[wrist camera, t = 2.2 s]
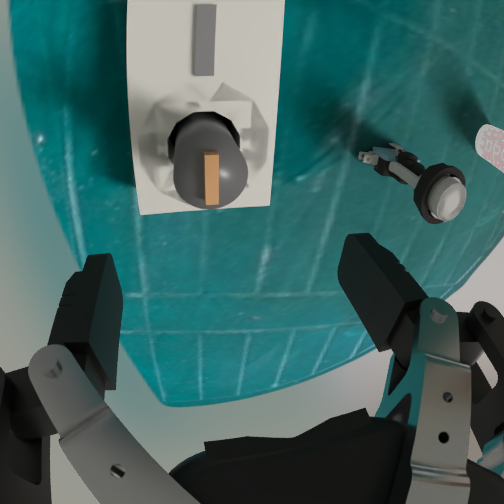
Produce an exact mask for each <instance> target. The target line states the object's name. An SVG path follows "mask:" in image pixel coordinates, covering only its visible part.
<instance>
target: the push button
mask: <svg viewBox="0 0 504 504" xmlns="http://www.w3.org/2000/svg"><path fill="white" fill-rule="evenodd" d="M389 144H390V145H391V146H393V147H395V148H396V149H389V148H381V147H373V150H372V151H369V152H359V157H358V159H361V160H363V163H371V164H372V165H374V166H375V168H374V170H375V171H376V172H378V173H379V174H380V175H382V176H391V177H393V178H395V179H396V180H397V181H399V182H400V183H401V184H409V185H411V186H412V187H413V188H414V202H415V204H416V206H417V208H418V210H419V211H420V214H421V216H422V217H423V218H424V219H425V220H426V221H427V222H428V223H431V224H439V223H442V222H444V221H449V220H452V219H453V218H454V217H455V216H457V215H458V214H459V213H460V211H461V209H462V208H463V206H464V204H465V200H466V190H465V178H464V175H463V173H462V172H461V171H460V170H459V169H457V168H456V167H454V166H448V165H446V164H444V163H440V164H436V165H433V166H429V167H428V168H427V169H425V167H424V166H423V165H422V164H420V159H418V158H417V157H416V156H415V155H414V154H412V153H409V152H408V151H404V148H402V147H400V146H399V145H397V144H394V143H389ZM395 145H396V146H395ZM363 154H365V155H364V158H362V155H363ZM447 174H449V175H450V176H449V175H447ZM427 208H428V209H427Z"/></svg>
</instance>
